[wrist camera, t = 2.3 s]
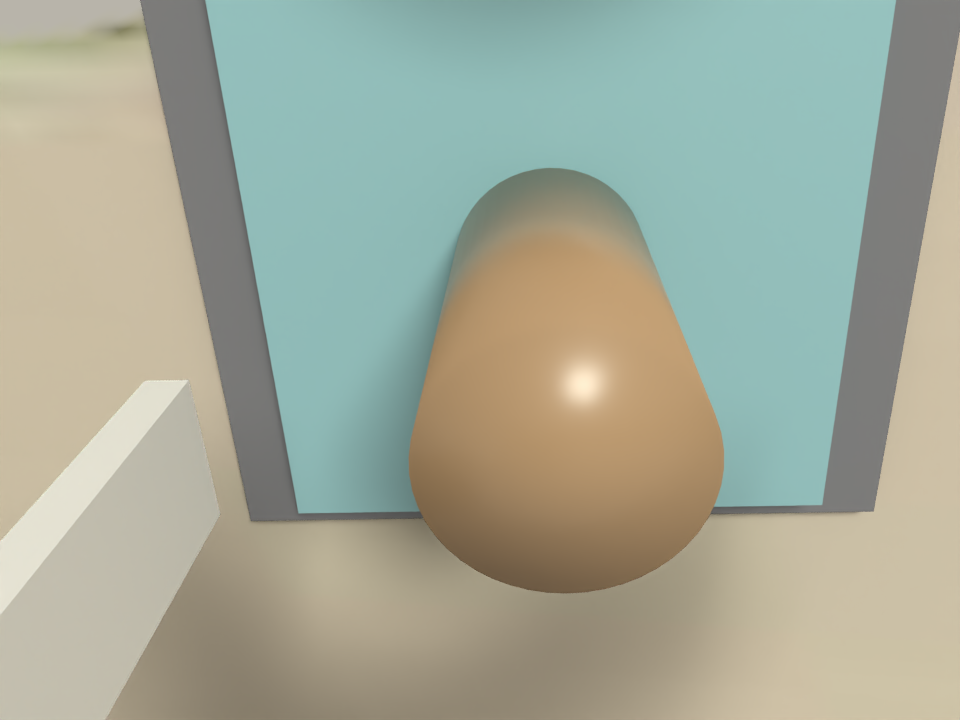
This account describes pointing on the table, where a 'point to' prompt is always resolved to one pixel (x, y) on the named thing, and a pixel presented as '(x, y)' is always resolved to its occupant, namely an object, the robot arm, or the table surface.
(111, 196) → the table surface
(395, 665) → the table surface
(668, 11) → the cover board
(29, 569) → the robot arm
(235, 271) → the mat
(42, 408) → the table surface
